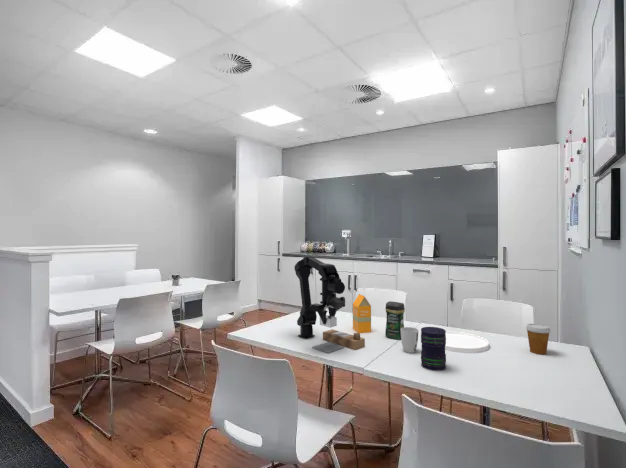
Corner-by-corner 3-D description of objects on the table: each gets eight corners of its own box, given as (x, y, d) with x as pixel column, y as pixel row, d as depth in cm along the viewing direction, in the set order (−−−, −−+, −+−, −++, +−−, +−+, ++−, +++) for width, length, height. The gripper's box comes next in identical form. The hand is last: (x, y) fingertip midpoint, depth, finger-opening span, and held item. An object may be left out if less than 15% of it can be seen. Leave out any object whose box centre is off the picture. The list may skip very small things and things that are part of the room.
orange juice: (358, 333, 192) (357, 296, 192) (352, 329, 201) (352, 294, 201) (371, 332, 194) (371, 296, 194) (365, 328, 203) (365, 293, 203)
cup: (419, 354, 159) (419, 332, 159) (400, 353, 160) (400, 331, 160) (417, 348, 167) (417, 327, 167) (400, 347, 168) (400, 326, 168)
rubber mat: (311, 347, 169) (311, 346, 169) (328, 342, 176) (328, 341, 176) (328, 353, 161) (328, 352, 161) (344, 347, 168) (344, 347, 168)
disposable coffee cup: (547, 350, 163) (546, 324, 163) (553, 356, 154) (553, 329, 154) (523, 347, 167) (523, 322, 167) (528, 354, 158) (528, 327, 158)
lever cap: (319, 324, 170) (319, 314, 170) (326, 323, 173) (326, 313, 173) (330, 327, 164) (329, 317, 164) (336, 325, 167) (336, 315, 167)
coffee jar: (383, 337, 185) (382, 302, 185) (390, 333, 191) (389, 299, 191) (400, 340, 179) (400, 304, 179) (406, 337, 185) (406, 301, 185)
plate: (425, 334, 191) (424, 330, 191) (480, 337, 185) (480, 332, 185) (431, 351, 163) (431, 346, 163) (496, 355, 158) (496, 350, 158)
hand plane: (322, 339, 181) (322, 327, 181) (332, 336, 186) (332, 324, 186) (355, 350, 165) (355, 336, 165) (364, 346, 170) (364, 333, 170)
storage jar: (415, 364, 147) (415, 328, 147) (432, 360, 152) (432, 325, 152) (434, 372, 138) (434, 334, 138) (451, 367, 143) (451, 331, 143)
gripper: (325, 295, 156) (325, 330, 156) (353, 290, 169) (353, 323, 169) (309, 292, 165) (309, 325, 165) (336, 288, 177) (336, 318, 177)
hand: (328, 323), depth 169 cm, fingers closed on lever cap, 4 cm apart
